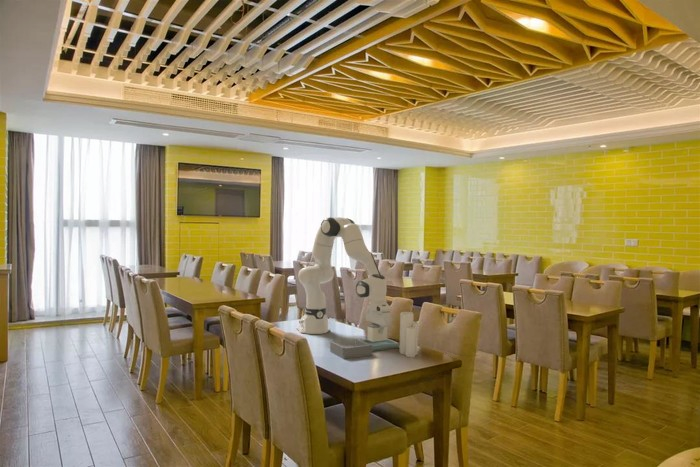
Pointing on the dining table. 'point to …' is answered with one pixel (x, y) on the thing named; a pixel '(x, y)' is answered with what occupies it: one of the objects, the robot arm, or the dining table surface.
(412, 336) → the candle
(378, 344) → the tray
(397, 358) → the dining table surface
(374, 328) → the caddy
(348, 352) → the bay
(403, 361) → the dining table surface
